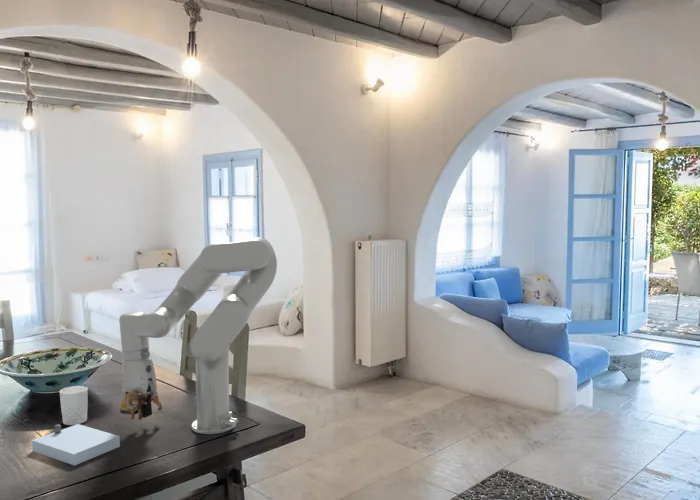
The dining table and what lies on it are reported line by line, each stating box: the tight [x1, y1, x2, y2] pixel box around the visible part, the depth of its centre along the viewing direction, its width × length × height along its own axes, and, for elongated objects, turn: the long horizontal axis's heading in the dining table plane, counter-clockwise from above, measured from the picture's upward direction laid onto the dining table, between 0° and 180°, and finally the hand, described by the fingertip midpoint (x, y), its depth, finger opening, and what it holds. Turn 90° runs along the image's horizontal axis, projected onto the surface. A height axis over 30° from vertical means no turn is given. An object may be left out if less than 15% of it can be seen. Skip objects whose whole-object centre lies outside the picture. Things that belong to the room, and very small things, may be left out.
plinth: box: [31, 424, 121, 466], centre depth 168 cm, size 18×14×5 cm
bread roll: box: [120, 394, 140, 412], centre depth 202 cm, size 8×9×4 cm
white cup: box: [59, 385, 89, 426], centre depth 189 cm, size 8×8×10 cm
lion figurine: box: [123, 391, 163, 421], centre depth 183 cm, size 15×5×9 cm, turn 163°
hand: (141, 414), depth 182 cm, fingers closed on lion figurine, 4 cm apart
